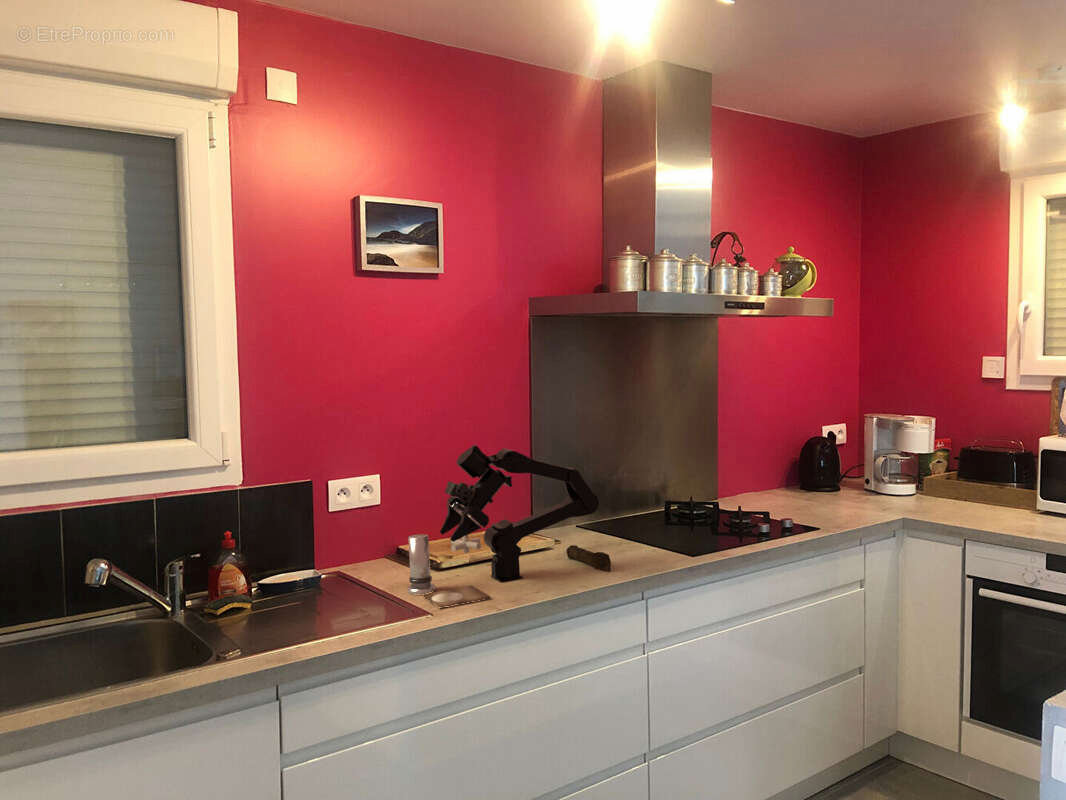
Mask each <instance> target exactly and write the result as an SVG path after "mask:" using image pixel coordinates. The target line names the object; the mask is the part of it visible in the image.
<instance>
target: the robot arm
mask: <svg viewBox="0 0 1066 800" xmlns="http://www.w3.org/2000/svg"><path fill="white" fill-rule="evenodd" d="M471 445H472V446H471V447H469V448H468V449H466V450H465V451H464V452H462V453H461V454H460V455H459V456H458V458H457V460H456V465H457V467H459V468H460V469H462V471H463V472H465V473H466V474H467V475H468V476H469V477H470V478H472V479H475V478H478V480H477V481H476V483H475V484H469V485H468V484H467V483H464V482H461V481H460V482H459V483H455V482H452V481H450V480H449V481H447V484H446V487H445V490H444V494H447V495H448V496H449V497H448V499H447V500H446V507H447V508H446V509H447V514H446V516H445V519H444V522H443V523H442V525H441V527H440V530H439V533H440V534H441V535H445V534H447V533H448V532H450V531H451V530H452V529H454V528H455V527H456V526H457V527H456V529H455V530H454V531H453V533H452V535H451V537H450V542H451V541H453V542H454V541H456V540H461V539H462V537H464V536H466V535H468V536H469V535H470V534H472V533H474V532H476V531H479V530H481V529H482V528H483V529H485V528H486V527H487V525H488V524H489V523H490V517H489V516H488V515H487V514H486V513H485V512H484V511H483V510H484V509H485V508H486V506H487V505H488V504H492V503H493V502H494V500H493V498H494V497H495V496H496V494H497V493H498V492H499V490H500V489H501V488H502V487H503V486H504V485H505V486H506V487H510V488H512V487H513V483H512V479H513V477H512V476H511V475H505V474H504V472H507V473H508V474H509V473H510V474H532V475H538V476H542V477H546V478H550V479H553V480H558V481H561V482H563V483H564V486H565V489H566V493H567V494H568V495H567V496H566V497H564V499H563V500H562V501H561V502H560V503H558V504H556V505H553V506H551V507H548V508H546V509H544V510H541V511H539V512H537V513H535V514H532V515H530V516H528V517H525V518H523V519H520V520H518V521H516V522H515V521H514V522H512V521H509V520H508V519H506V518H504V519H501V520H499V521H498V522H496V523H490V526H489V527H488V528H487V529H486V530H485V532H484V535H483V542H484V543H485V545H486V546H487V547H489V548H490V550H491V552H492V553H494V554H492V561H491V562H490V563H491V564H490V565H491V567H490V568H491V569H490V570H491V575H490V578H492V579H495V580H496V581H498V582H501V583H503V582H508V581H514V580H519V579H523V578H524V577H523V575H522V574H521V571H520V556H521V552H522V548H521V547H520V546H518V544H519V542H520V541H521V540H522V539H524V538H525V537H527V536H529V535H532V534H535V533H537V532H539V531H541V530H544V529H546V528H548V527H551V526H553V525H555V524H558V523H560V522H562V521H565V520H567V519H569V518H579V517H584V516H585V517H586V516H589V515H590V516H591V515H593V514H595V513H596V512H597V511H598V508H599V506H600V505H599V504H600V501H599V498H598V496H597V495H596V494H594V493H593V491H592V490H591V488H590V487H589V485H588V484H587V482H586V480H584V479H583V476H582V475H581V474H580V471H579V470H578V469H575V468H573V467H565V466H561V465H557V464H552V463H548V462H544V461H539V460H535V459H533V458H530V456H528V455H525V454H523V453H521V452H518V451H516V450H512V449H509V448H502V449H501V450H499V451H498V452H497V453H496V454H495V453H494V454H492V455H488V456H487V454H485V453H484V452H483V451H482V449H480V447H478V446H477V445H476V444H471ZM491 466H493V467H496V468H498V469H493V468H492V467H491ZM500 470H501V471H500ZM502 471H503V472H502Z"/></svg>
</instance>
